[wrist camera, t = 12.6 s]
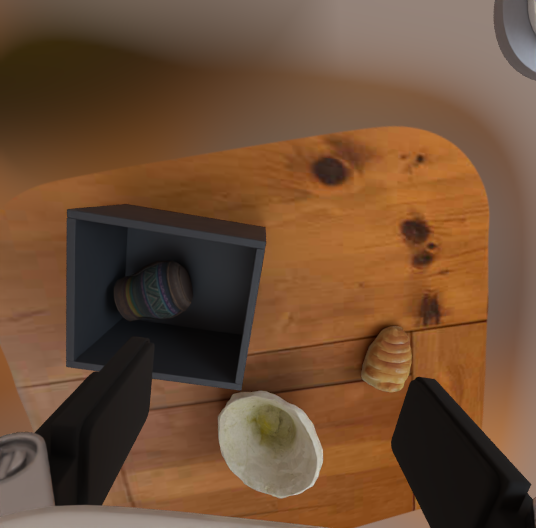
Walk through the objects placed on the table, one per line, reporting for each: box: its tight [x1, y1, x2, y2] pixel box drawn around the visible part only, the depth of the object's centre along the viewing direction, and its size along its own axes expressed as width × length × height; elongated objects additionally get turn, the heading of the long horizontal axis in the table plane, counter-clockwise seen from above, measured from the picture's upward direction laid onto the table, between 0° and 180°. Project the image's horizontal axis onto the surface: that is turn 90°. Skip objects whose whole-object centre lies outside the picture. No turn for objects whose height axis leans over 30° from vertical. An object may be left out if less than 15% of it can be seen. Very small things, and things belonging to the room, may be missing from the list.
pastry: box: [361, 326, 412, 392], centre depth 42 cm, size 9×7×4 cm
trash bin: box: [66, 204, 266, 391], centre depth 35 cm, size 17×19×12 cm
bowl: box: [218, 390, 323, 498], centre depth 41 cm, size 15×14×10 cm
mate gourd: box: [114, 261, 193, 322], centre depth 37 cm, size 7×8×10 cm
